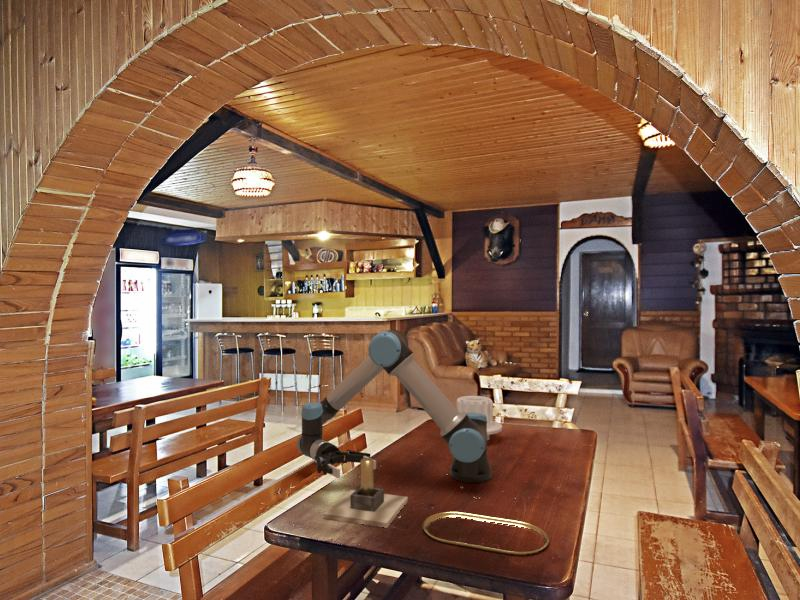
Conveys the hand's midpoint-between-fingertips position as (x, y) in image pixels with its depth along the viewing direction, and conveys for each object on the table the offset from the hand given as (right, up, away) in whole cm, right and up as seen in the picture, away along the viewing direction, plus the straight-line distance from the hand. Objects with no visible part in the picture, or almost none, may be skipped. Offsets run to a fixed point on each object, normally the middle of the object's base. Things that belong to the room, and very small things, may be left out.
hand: (357, 469), depth 165 cm
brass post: (+3, -10, -4) cm, 11 cm away
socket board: (+3, -11, -4) cm, 12 cm away
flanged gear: (+48, -10, +73) cm, 88 cm away
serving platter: (+37, -12, -20) cm, 44 cm away
